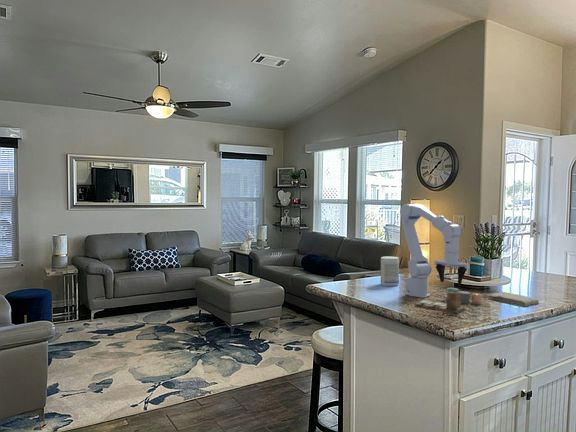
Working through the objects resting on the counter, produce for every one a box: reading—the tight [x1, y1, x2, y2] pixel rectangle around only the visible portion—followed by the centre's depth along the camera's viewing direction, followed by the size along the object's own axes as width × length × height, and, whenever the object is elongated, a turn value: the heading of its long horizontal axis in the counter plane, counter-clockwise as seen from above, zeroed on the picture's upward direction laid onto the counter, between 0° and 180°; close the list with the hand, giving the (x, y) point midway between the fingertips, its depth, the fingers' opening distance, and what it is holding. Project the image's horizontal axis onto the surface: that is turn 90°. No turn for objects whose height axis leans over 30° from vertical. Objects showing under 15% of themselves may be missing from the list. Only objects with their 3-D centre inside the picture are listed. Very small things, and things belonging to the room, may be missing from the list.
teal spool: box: [446, 287, 460, 293], centre depth 195 cm, size 5×5×5 cm
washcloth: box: [488, 291, 540, 307], centre depth 194 cm, size 12×18×3 cm, turn 32°
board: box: [414, 299, 466, 314], centre depth 181 cm, size 18×8×1 cm, turn 49°
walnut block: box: [446, 291, 462, 309], centre depth 177 cm, size 4×4×6 cm
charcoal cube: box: [457, 290, 471, 305], centre depth 191 cm, size 4×4×4 cm
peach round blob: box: [470, 292, 483, 305], centre depth 189 cm, size 4×4×4 cm
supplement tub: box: [380, 255, 400, 287], centre depth 229 cm, size 10×10×15 cm
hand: (450, 282), depth 188 cm, fingers open, 7 cm apart
